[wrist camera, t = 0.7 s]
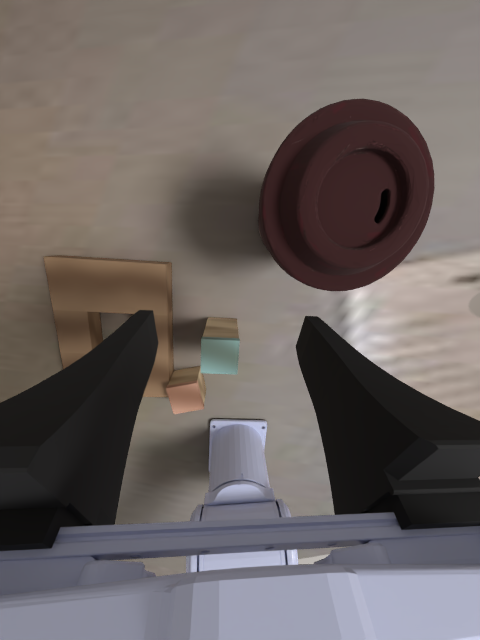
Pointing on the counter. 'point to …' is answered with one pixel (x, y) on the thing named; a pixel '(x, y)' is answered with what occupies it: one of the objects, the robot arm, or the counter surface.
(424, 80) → the counter surface
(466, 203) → the counter surface
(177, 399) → the tan cubic piece
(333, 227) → the coffee cup
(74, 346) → the hole board
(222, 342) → the square peg
